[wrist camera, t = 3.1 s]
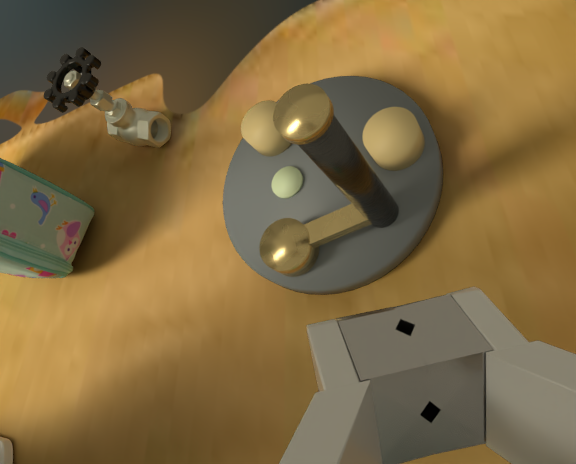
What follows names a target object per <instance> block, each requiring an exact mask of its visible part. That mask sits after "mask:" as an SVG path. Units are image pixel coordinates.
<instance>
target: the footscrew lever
mask: <svg viewBox="0 0 576 464" xmlns="http://www.w3.org/2000/svg"><path fill="white" fill-rule="evenodd" d="M273 122H274V126H275V128H276V130H277V131H278V132H279V133H280V134H281V135H282V136H283V137H284V138H285V139H286V140H287V141H288V142H290V143H292V144H297V145H299V147H300V148H301V149H302V150H303V151H304V152H305V153H306V154H307V155H308V156H309V157H310V159H311V160H312V161H313V162H314V163H315V164H316V165H317V166H318V167H319V168H320V169H321V171H322V172H323V173H324V174H325V175H326V176H327V177H328V178H329V179H330V180H331V181H332V183H333V184H334V185H335V186H336V187H337V188H338V189H339V190H340V191H341V192H342V193H343V195H344V196H345V197H346V198H347V199H348V200H349V201H350V202H351V203H352V204H350V205H347V206H345V207H343V208H340V209H338V210H336V211H334V212H331V213H329V214H327V215H325V216H322V217H320V218H318V219H315V220H313V221H311V222H309V223H306V224H304V225H303V224H302V223H301V222H299V221H298V220H296V219H293V218H283V219H279V220H277V221H275V222H273V223H272V224H271V225H270V226H269V227H268V228H267V229H266V230H265V232H264V233H263V235H262V237H261V240H260V246H259V250H260V255H261V258H262V260H263V262H264V263H265V264H266V265H267V266H268V267H270V268H271V269H273V270H275V271H277V272H279V273H281V274H282V275H285V276H288V277H297V276H301V275H303V274H305V273H306V272H308V271H309V270H310V269H311V268H312V267H313V266H314V264H315V263H316V261H317V258H318V255H319V246H320V245H323V244H325V243H328V242H330V241H332V240H335V239H337V238H340V237H342V236H344V235H347V234H349V233H351V232H354V231H356V230H359V229H361V228H363V227H366V226H368V225H372V226H374V227H377V228H385V227H388V226H390V225H391V224H393V223H394V222H395V220H396V219H397V217H398V214H399V207H398V205H397V203H396V201H395V200H394V199H393V197H392V196H391V194H390V193H389V192H388V190H387V189H386V187H385V186H384V185H383V183H382V182H381V180H380V179H379V177H378V176H377V175H376V173H375V172H374V170H373V169H372V168H371V166H370V165H369V163H368V162H367V161H366V159H365V158H364V156H363V155H362V154H361V152H360V151H359V149H358V148H357V147H356V145H355V144H354V142H353V141H352V139H351V138H350V137H349V135H348V134H347V132H346V131H345V130H344V128H343V127H342V125H341V124H340V123H339V121H338V120H337V118H336V117H335V116H334V108H333V104H332V102H331V100H330V99H329V97H328V96H327V94H326V93H325V91H324V90H323V89H322V88H321V87H319V86H317V85H314V84H302V85H298V86H296V87H293V88H292V89H290V90H289V91H287V92H286V93H285V94H284V95H283V96H282V97H281V98H280V100H279V101H278V103H277V104H276V107H275V109H274V113H273Z"/></svg>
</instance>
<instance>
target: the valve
mask: <svg viewBox="0 0 576 464" xmlns="http://www.w3.org/2000/svg"><path fill="white" fill-rule="evenodd" d="M85 58H86V60H85ZM60 63H61V64H62V67H61V68H60V69H59V71H58V72H55V71H51V72H50V73H49V74H48V76H47V80H48V81H49V82H51V83H52V84H53V85H52V88H51V89H48V90H46V91H45V93H44V98H45V99H46V100H48V101H49V102H51V103H53V104H52V105H53V107H54V108H55V109H57V110H59V111H60V112H62V113H63V112H65V111H66V110H67V109H68V107H67V106H65V102H66V103H73V104H75V105H76V106H78V107H79V106H81V105H83V103H84V101H85V100H87V99H89V98H90V99H91V101H90V102H91V105H93V106H94V107H95V108H97V109H98V110H100V111H105V119H106V121H107V129H108V134H109V135H111V136H112V137H114V138H115V139H117V140H119V141H121V142H127V143H129V144H131V145H134V146H146V145H149V146H152V147H158V148H159V147H161V146H162V145H164V144H165V143H166V142H167V141H168V140H169V139H170V136H171V123H170V120H169V119H168V118H167V117H166V116H164V115H163V114H161V113H160V112H155V111H148V110H146V109H142V108H132V106H131V104H130V103H128V102H127V101H125V100H124V99H122V98H118V99H116V100H112V97H111V96H110V95H109V94H107V93H106V92H105V91H103V90H97V91H96V87H97V85H98V82H99V81H98V79H97V78H96V77H94V76H93V75H92V74H91V68H93V67H95V68H96V69H99V67H100V66H101V61H100V60H99V59H97V58H96V57H95V56H94V55H91V53H90V52H88V51H87V50H86V49H85V48H83V47H80V48H79V49H78V50H77V51H76V56H75V58H72V57H70V56H69V55H68V54H64V55H63V56H62V57H61V59H60ZM72 69H74V70H76V71H77V72H76V71H71V72H69V71H70V70H72ZM68 72H69V73H68ZM67 73H68V74H67ZM64 78H65V79H64ZM63 80H64V85H65V86H66V87H67V88H69V89H70V91H69V92H66V93H62V91H61V85H62V82H63ZM55 97H56V98H55Z"/></svg>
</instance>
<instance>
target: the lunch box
mask: <svg viewBox="0 0 576 464" xmlns="http://www.w3.org/2000/svg"><path fill="white" fill-rule="evenodd" d="M93 216H94V209H93V208H92V207H91V206H90V205H88V204H87V203H85V202H84V201H82V200H81V199H79V198H77V197H75V196H74V195H72V194H70V193H68V192H67V191H65V190H63V189H61V188H60V187H58V186H56V185H54V184H52V183H51V182H49V181H47V180H45V179H43V178H41V177H39V176H37V175H35V174H33V173H31V172H29V171H27V170H25V169H23V168H21V167H19V166H16V165H14V164H12V163H10V162H8V161H6V160H3V159H1V158H0V273H5V274H9V275H15V276H20V277H29V278H63V277H66V276H67V274H69V273H70V272H72V271H73V266H72V264H71V263H72V262H73V260H74V258H75V255H76V252H77V250H78V248H79V246H80V244H81V241H82V239H83V237H84V235H85V232H86V230H87V228H88V226H89V223H90V221H91V219H92V218H93Z"/></svg>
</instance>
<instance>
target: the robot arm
mask: <svg viewBox="0 0 576 464" xmlns="http://www.w3.org/2000/svg"><path fill="white" fill-rule="evenodd" d="M307 334H308V340H309V345H310V350H311V355H312V360H313V365H314V370H315V375H316V380H317V385H318V390H319V392H316V393H315V394H314V396H313V398H312V400H311V402H310V404H309V406H308V408H307V410H306V412H305V414H304V416H303V418H302V420H301V422H300V424H299V425H298V427H297V429H296V431H295V433H294V435H293V437H292V439H291V441H290V443H289V445H288V447H287V449H286V451H285V453H284V455H283V457H282V459H281V461H280V463H279V464H400V463H404V462H407V461H411V460H415V459H418V458H422V457H426V456H429V455H433V454H438V453H442V452H447V451H452V450H456V449H461V448H466V447H471V446H475V445H480V444H485V443H486V446H487V447H489V448H490V449H491V450H493V451H494V452H496V453H497V454H499V455H500V456H502V457H503V458H504V459H506V460H507V461H509V462H510V463H512V464H576V354H574V353H571V352H568V351H565V350H563V349H560V348H557V347H555V346H552V345H549V344H546V343H544V342H541V341H534V342H528V341H527V339H526V338H525V337H524V336H523V335H522V334H521V333H520V332H519V331H518V330H517V329H516V327H515V326H514V325H513V324H512V323H511V322H510V321H509V320H508V319H507V318H506V317H505V316H504V314H503V313H502V312H501V311H500V310H499V309H498V308H497V307H496V306H495V305H494V304H493V302H492V301H491V300H490V299H489V298H488V297H487V296H486V295H485V294H484V293H483V292H482V291H481V289H479V288H477V287H471V288H467V289H463V290H459V291H455V292H451V293H447V294H446V295H443V296H439V297H435V298H431V299H426V300H422V301H418V302H414V303H409V304H405V305H401V306H397V307H390V308H385V309H380V310H375V311H370V312H365V313H361V314H356V315H351V316H346V317H341V318H336V320H335V319H332V320H328V321H323V322H319V323H314V324H310V325H307ZM0 464H13V447H12V443H11V441H10V440H9V439H7V438H4V437H0Z"/></svg>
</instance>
